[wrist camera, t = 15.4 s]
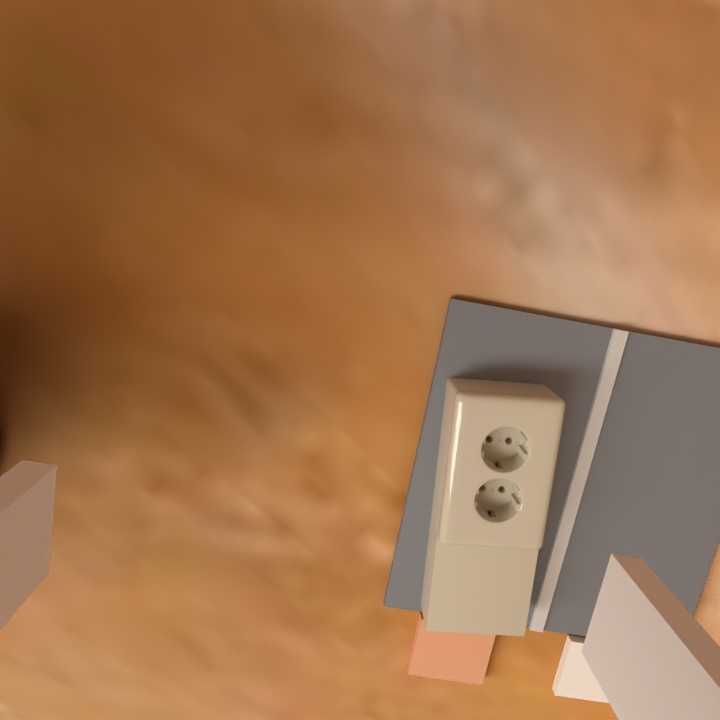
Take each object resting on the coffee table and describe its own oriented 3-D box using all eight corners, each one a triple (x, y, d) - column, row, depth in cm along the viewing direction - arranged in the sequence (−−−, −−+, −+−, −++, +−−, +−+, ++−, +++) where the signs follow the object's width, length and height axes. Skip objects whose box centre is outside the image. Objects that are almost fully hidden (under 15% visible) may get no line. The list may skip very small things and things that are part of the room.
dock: (370, 661, 48) (370, 670, 47) (450, 297, 42) (452, 299, 41) (657, 702, 50) (663, 711, 49) (776, 357, 43) (785, 360, 42)
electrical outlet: (427, 639, 42) (457, 393, 38) (420, 603, 46) (447, 377, 42) (528, 645, 43) (568, 401, 39) (512, 609, 47) (547, 384, 43)
